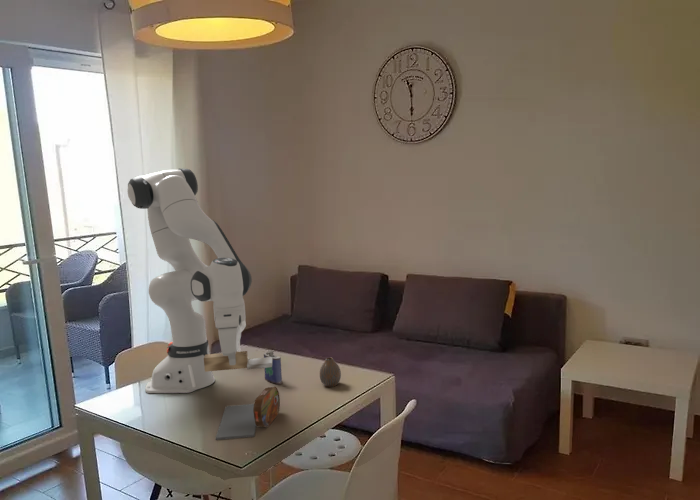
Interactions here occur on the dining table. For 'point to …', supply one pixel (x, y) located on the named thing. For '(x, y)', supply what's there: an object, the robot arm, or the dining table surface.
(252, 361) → the turner
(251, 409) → the mat
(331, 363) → the vase
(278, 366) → the flask
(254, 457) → the dining table surface
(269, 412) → the tin
